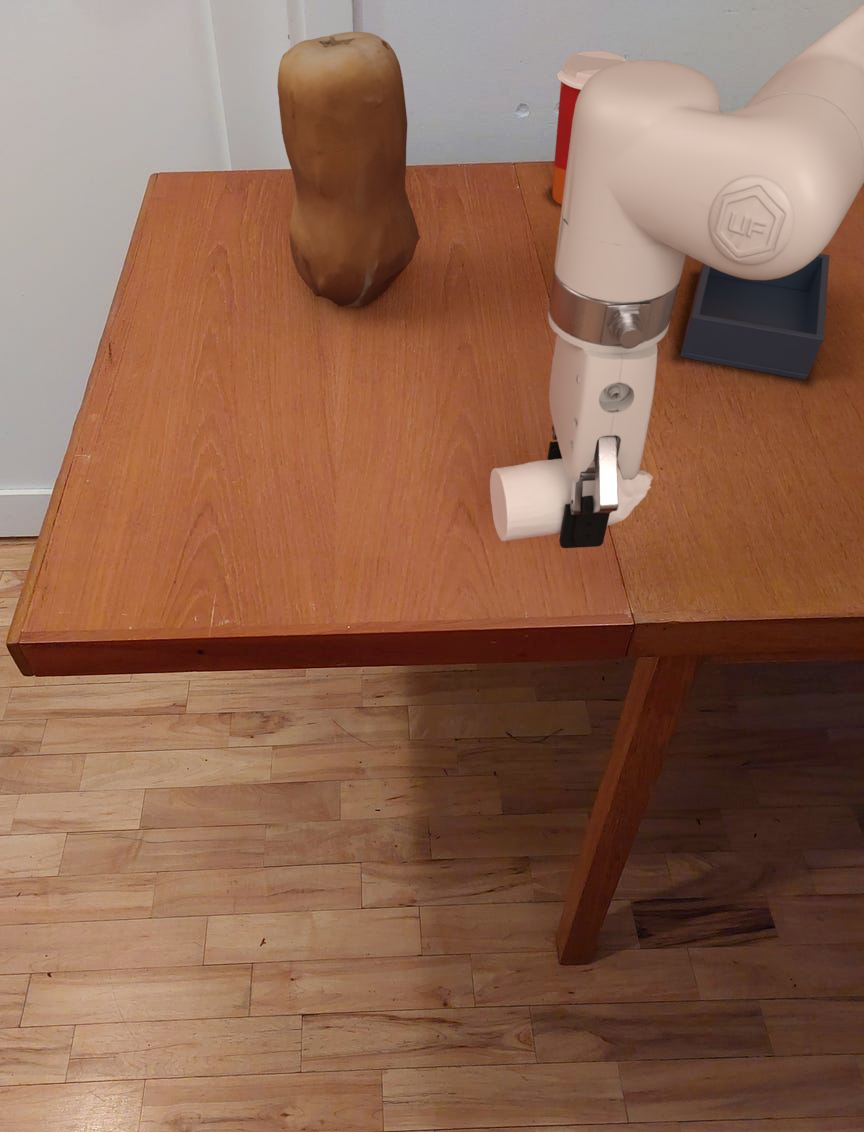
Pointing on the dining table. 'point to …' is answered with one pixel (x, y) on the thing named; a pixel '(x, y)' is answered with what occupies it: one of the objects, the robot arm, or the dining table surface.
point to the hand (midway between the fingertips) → (572, 511)
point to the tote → (759, 320)
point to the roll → (549, 497)
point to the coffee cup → (572, 82)
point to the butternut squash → (347, 165)
